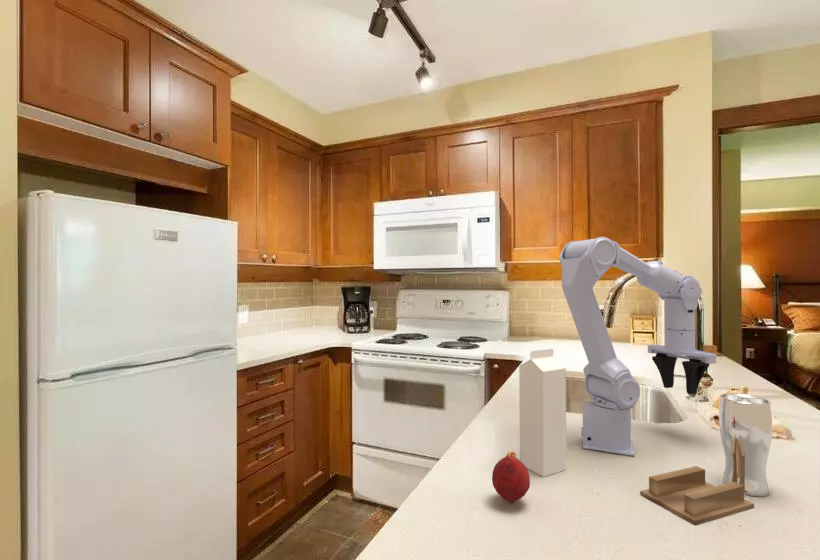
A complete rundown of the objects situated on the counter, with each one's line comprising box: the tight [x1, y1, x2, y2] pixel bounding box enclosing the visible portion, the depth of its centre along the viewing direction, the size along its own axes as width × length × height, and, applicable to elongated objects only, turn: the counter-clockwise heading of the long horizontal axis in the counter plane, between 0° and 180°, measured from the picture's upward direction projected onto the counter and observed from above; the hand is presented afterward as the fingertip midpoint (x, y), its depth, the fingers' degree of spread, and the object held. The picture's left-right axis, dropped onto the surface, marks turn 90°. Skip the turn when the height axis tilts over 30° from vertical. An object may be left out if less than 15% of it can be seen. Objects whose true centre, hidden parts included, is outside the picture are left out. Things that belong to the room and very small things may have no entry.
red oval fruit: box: [491, 450, 531, 504], centre depth 65 cm, size 6×6×8 cm
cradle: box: [639, 465, 755, 526], centre depth 65 cm, size 9×13×3 cm
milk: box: [518, 348, 567, 478], centre depth 77 cm, size 6×6×22 cm
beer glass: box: [718, 392, 773, 498], centre depth 70 cm, size 7×7×15 cm
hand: (679, 390), depth 92 cm, fingers open, 5 cm apart
